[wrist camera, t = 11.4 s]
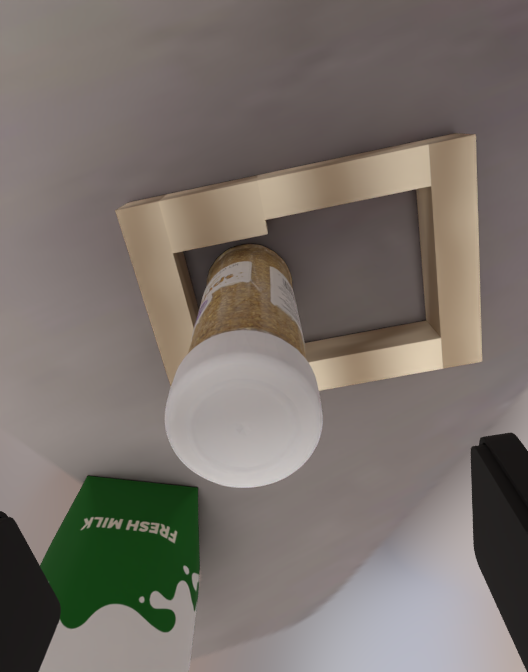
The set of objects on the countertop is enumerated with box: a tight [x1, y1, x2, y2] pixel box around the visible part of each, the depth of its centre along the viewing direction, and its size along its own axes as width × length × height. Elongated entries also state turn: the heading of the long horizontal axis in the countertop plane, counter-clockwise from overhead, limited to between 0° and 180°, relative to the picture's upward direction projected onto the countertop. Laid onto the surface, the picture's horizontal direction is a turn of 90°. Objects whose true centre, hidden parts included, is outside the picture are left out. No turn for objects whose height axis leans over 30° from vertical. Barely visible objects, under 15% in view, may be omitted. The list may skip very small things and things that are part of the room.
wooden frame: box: [115, 133, 482, 391], centre depth 25 cm, size 16×11×2 cm
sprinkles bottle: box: [165, 244, 323, 488], centre depth 20 cm, size 5×5×13 cm
